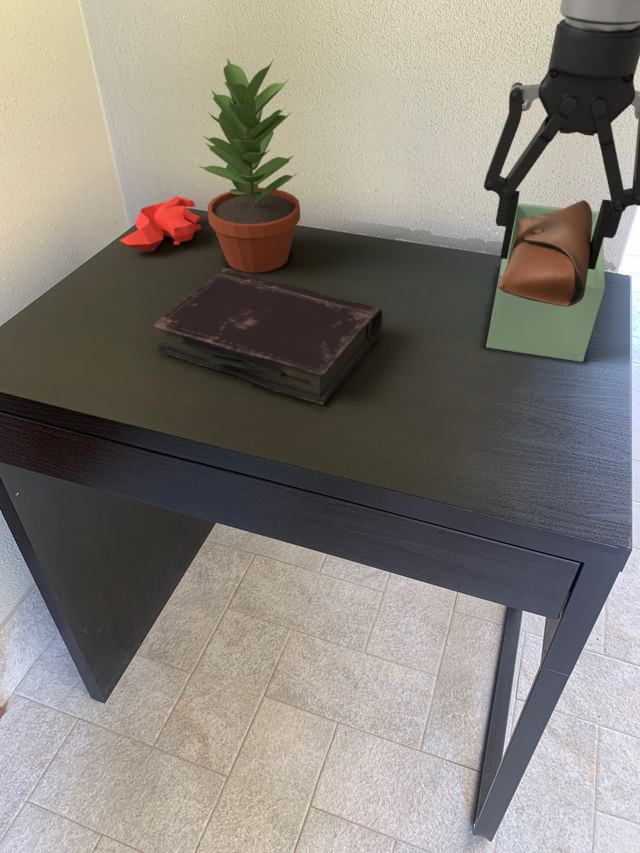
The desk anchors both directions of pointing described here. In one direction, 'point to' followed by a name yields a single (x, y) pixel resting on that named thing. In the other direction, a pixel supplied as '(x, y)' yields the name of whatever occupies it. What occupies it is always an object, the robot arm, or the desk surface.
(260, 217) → the potted plant
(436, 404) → the desk surface
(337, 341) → the diary
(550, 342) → the green open box
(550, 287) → the sunglasses case
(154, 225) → the animal figurine
